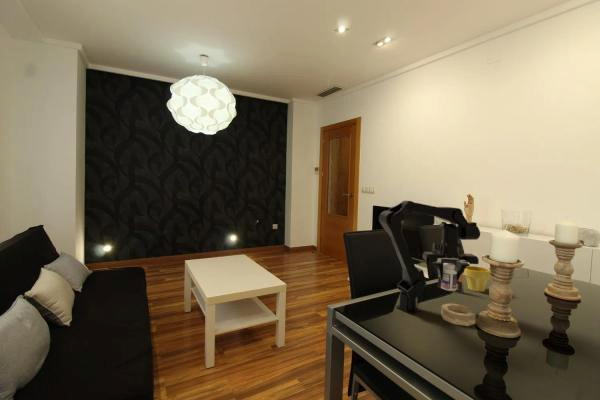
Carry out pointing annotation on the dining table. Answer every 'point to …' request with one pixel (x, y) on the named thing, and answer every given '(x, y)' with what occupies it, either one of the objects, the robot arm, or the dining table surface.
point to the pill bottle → (449, 277)
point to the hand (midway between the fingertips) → (448, 279)
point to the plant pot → (477, 277)
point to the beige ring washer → (458, 314)
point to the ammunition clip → (459, 284)
